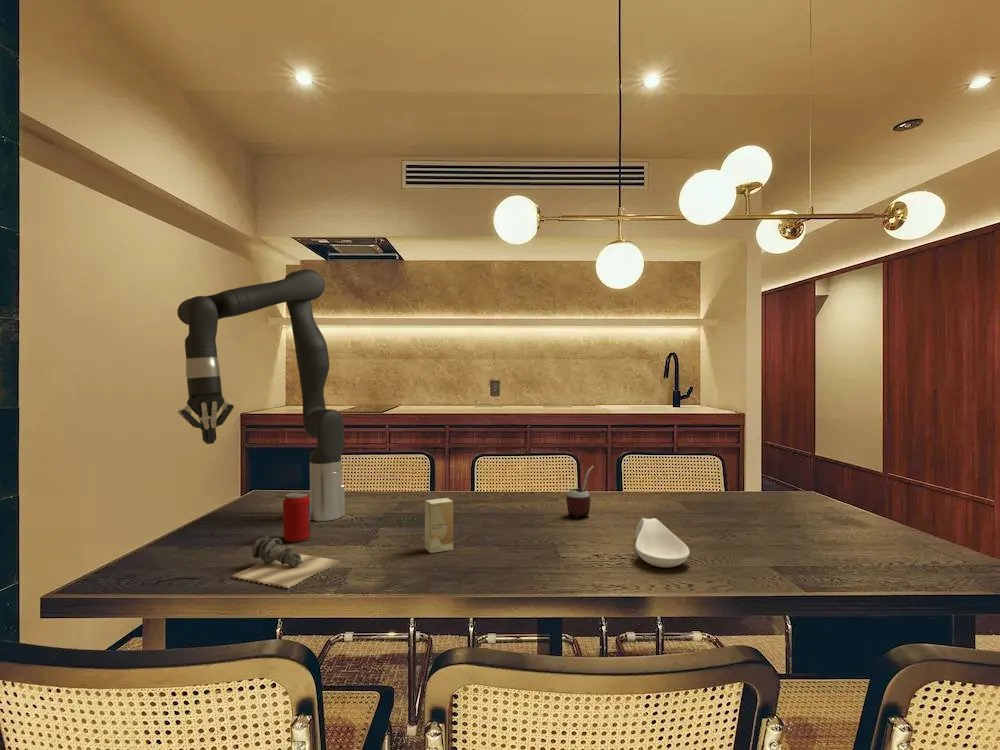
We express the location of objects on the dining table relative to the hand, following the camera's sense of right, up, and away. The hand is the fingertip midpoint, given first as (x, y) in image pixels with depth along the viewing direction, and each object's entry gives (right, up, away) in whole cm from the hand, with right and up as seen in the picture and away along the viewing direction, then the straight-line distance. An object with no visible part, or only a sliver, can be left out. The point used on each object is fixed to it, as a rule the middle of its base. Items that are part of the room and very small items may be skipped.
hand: (210, 443), depth 138 cm
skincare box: (+59, -26, -3) cm, 65 cm away
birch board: (+26, -27, -16) cm, 41 cm away
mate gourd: (+98, -25, +24) cm, 104 cm away
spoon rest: (+111, -26, -9) cm, 114 cm away
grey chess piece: (+18, -22, -12) cm, 31 cm away
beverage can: (+20, -27, +6) cm, 34 cm away
